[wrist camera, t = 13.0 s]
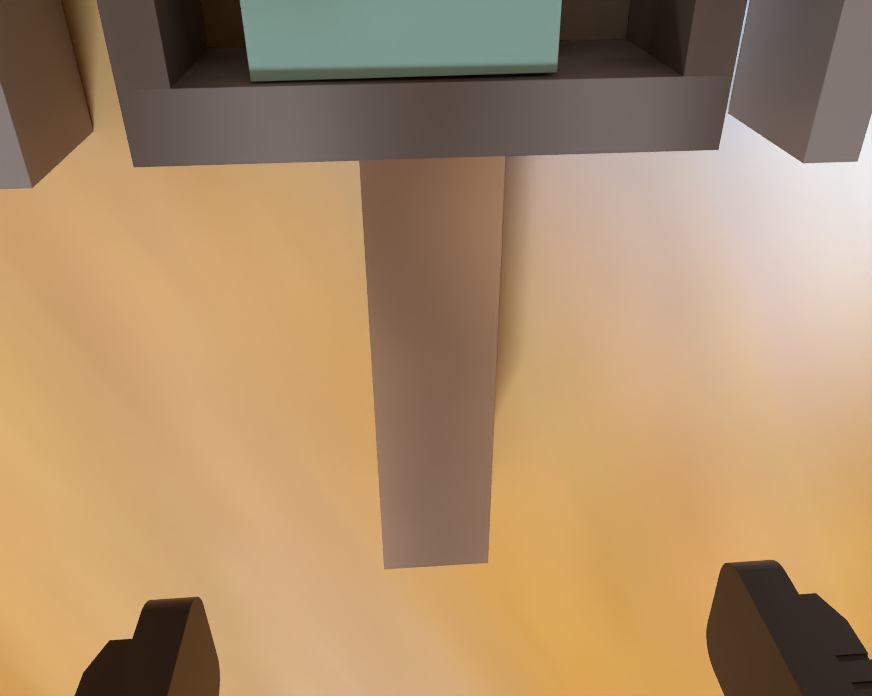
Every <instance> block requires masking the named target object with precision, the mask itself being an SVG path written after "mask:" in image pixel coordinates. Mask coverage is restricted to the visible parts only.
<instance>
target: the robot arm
mask: <svg viewBox="0 0 872 696" xmlns="http://www.w3.org/2000/svg"><path fill="white" fill-rule="evenodd" d="M706 638H707V648H708V653H709V657H710V661H711V664H712V667H713V670H714V672H715V674H716V677H717V679H718V681H719V684H720V686H721V688H722V691H723V693H724V696H872V659H871V660H870V659H869V658H868V652H867V651H866V649H865V648H864V646H863V645H862V643H861V641H860V640H859V638H858V637H857V635H856V634H855V632H854V631H853V629H852V627H851V626H850V624H849V623H848V621H847V620H846V619H845V618H844V617H843V616H841V615H840V614H839V613H838V612H837V611H836V610H834V609H833V608H832V607H831V606H830V605H829V604H828V603H826V602H825V601H824V600H823V599H822V598H821V597H820V596H818V595H817V594H816V593H813V594H798V592H797V590H796V589H795V587H794V585H793V584H792V582H791V580H790V578H789V577H788V575H787V573H786V572H785V570H784V569H783V567H782V566H781V565H780V564H779V563H778V562H777V561H774V560H763V561H749V562H734V563H725V564H724V565H723V566H722V568H721V570H720V574H719V578H718V582H717V586H716V591H715V595H714V599H713V603H712V607H711V611H710V615H709V619H708V624H707V631H706ZM219 687H220V670H219V661H218V657H217V653H216V649H215V646H214V642H213V638H212V635H211V631H210V627H209V624H208V620H207V616H206V613H205V609H204V605H203V602H202V600H201V599H200V598H199V597H188V598H174V599H159V600H149V601H147V602H146V604H145V605H144V607H143V609H142V611H141V614H140V617H139V620H138V623H137V626H136V629H135V633H134V636H133V639H124V640H110V641H109V642H108V643H107V644H106V645H105V647H104V648H103V649H102V650H101V652H100V653H99V654H98V655H97V657H96V658H95V659H94V660H93V661H92V663H91V664H90V665H89V666H88V668H87V669H86V670H85V671H84V673H83V675H82V678H81V680H80V683H79V686H78V688H77V691H76V694H75V696H219Z"/></svg>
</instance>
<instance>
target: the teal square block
mask: <svg viewBox="0 0 872 696" xmlns="http://www.w3.org/2000/svg"><path fill="white" fill-rule="evenodd" d="M240 5H241V13H242V20H243V27H244V34H245V42H246V49H247V56H248V63H249V71H250V78H251V82H253V81H286V80H319V79H352V78H384V77H417V76H450V75H483V74H516V73H548V72H557V64H558V49H559V35H560V20H561V5H562V0H240Z"/></svg>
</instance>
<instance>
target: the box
mask: <svg viewBox="0 0 872 696" xmlns="http://www.w3.org/2000/svg"><path fill="white" fill-rule="evenodd" d="M728 113H729V114H730V115H732V116H733V117H735V118H736V119H738V120H739V121H741V122H742V123H744V124H745V125H747V126H748V127H750V128H751V129H753V130H754V131H756V132H757V133H759V134H760V135H762V136H763V137H765V138H766V139H768V140H769V141H771V142H772V143H774V144H775V145H777V146H778V147H780V148H781V149H783V150H784V151H786V152H787V153H789V154H790V155H792V156H793V157H795V158H796V159H798V160H799V161H801V162H802V163H824V162H855V161H858V158H859V154H860V151H861V148H862V144H863V141H864V137H865V134H866V131H867V127H868V124H869V120H870V117H871V114H872V0H750V4H749V9H748V14H747V19H746V25H745V30H744V35H743V40H742V45H741V50H740V56H739V61H738V66H737V71H736V76H735V81H734V86H733V92H732V97H731V102H730V107H729V112H728ZM92 132H93V127H92V123H91V119H90V115H89V111H88V107H87V103H86V99H85V95H84V91H83V87H82V82H81V78H80V74H79V70H78V66H77V62H76V58H75V54H74V50H73V46H72V42H71V38H70V34H69V30H68V26H67V22H66V18H65V14H64V9H63V5H62V1H61V0H0V189H19V188H33V187H34V186H35V185H36V184H37V183H38V182H39V181H40V180H42V179H43V178H44V177H45V176H46V175H47V174H48V173H49V172H50V171H51V170H52V169H53V168H54V167H55V166H57V165H58V164H59V163H60V162H61V161H62V160H63V159H64V158H65V157H66V156H67V155H68V154H69V153H71V152H72V151H73V150H74V149H75V148H76V147H77V146H78V145H79V144H80V143H81V142H82V141H83V140H85V139H86V138H87V137H88V136H89V135H90V134H91V133H92Z"/></svg>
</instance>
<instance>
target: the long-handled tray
mask: <svg viewBox="0 0 872 696" xmlns="http://www.w3.org/2000/svg"><path fill="white" fill-rule="evenodd" d="M97 4H98V9H99V13H100V18H101V22H102V27H103V31H104V36H105V40H106V45H107V49H108V54H109V58H110V63H111V67H112V72H113V76H114V81H115V85H116V90H117V94H118V99H119V103H120V107H121V112H122V116H123V121H124V125H125V130H126V134H127V139H128V143H129V148H130V152H131V157H132V161H133V166H134V167H157V166H190V165H224V164H257V163H291V162H325V161H358V160H359V162H360V179H361V195H362V212H363V228H364V244H365V261H366V277H367V294H368V310H369V326H370V343H371V359H372V376H373V392H374V408H375V425H376V441H377V457H378V474H379V490H380V507H381V523H382V539H383V556H384V569H396V568H412V567H428V566H444V565H460V564H476V563H488V550H489V527H490V504H491V481H492V457H493V434H494V411H495V388H496V364H497V341H498V318H499V295H500V271H501V248H502V225H503V201H504V178H505V156H526V155H559V154H593V153H627V152H660V151H694V150H718V149H719V144H720V139H721V134H722V128H723V123H724V118H725V113H726V108H727V103H728V97H729V92H730V87H731V82H732V77H733V72H734V66H735V61H736V56H737V51H738V46H739V41H740V35H741V30H742V25H743V20H744V15H745V10H746V4H747V0H631V1H630V10H629V18H628V27H627V35H626V40H579V41H559V49H558V64H557V72H548V73H516V74H483V75H450V76H417V77H384V78H352V79H319V80H286V81H253V82H251V78H250V71H249V63H248V56H247V49H246V47H242V48H208V45H207V38H206V32H205V25H204V19H203V13H202V6H201V0H97Z"/></svg>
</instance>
